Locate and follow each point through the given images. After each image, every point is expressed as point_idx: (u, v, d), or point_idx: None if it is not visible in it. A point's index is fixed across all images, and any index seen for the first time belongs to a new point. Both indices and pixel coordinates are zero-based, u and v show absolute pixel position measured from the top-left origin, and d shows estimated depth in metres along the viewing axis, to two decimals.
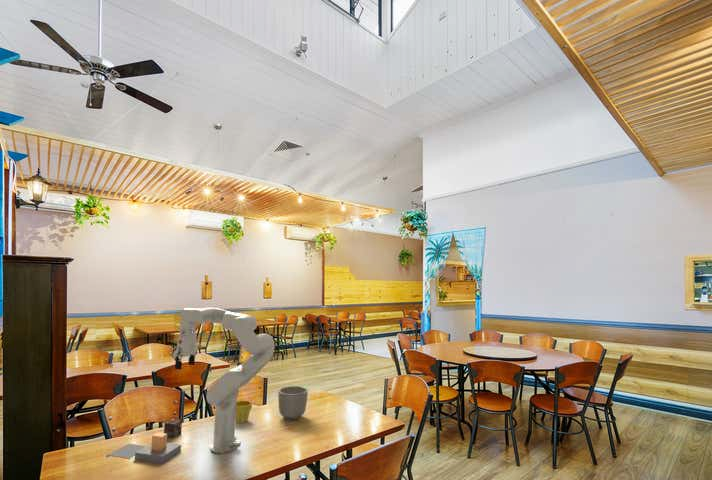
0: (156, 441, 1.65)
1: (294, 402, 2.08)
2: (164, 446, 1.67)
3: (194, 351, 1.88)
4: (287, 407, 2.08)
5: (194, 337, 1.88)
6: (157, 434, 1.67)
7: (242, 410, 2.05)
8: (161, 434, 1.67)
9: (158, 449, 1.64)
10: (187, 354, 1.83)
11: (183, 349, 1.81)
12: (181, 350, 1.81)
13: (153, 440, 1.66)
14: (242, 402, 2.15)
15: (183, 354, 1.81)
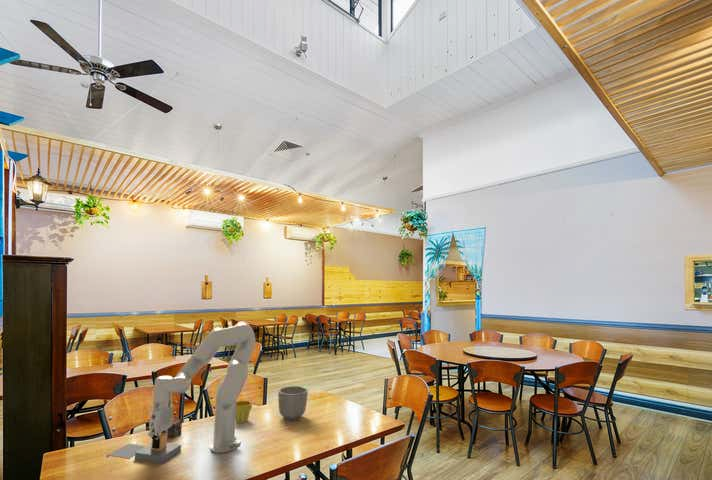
0: None
1: (294, 402, 2.08)
2: (164, 446, 1.67)
3: (170, 424, 1.70)
4: (287, 407, 2.08)
5: (170, 409, 1.70)
6: None
7: (242, 410, 2.05)
8: (162, 434, 1.67)
9: (158, 449, 1.65)
10: (161, 430, 1.65)
11: (157, 425, 1.63)
12: (154, 426, 1.63)
13: None
14: (242, 402, 2.15)
15: (157, 431, 1.62)
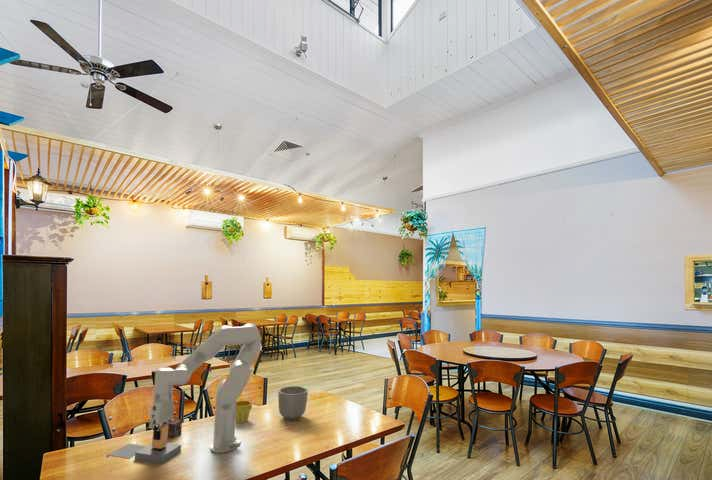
0: None
1: (294, 402, 2.08)
2: (165, 437, 1.67)
3: (171, 416, 1.70)
4: (287, 407, 2.08)
5: (170, 400, 1.70)
6: None
7: (242, 410, 2.05)
8: (163, 425, 1.68)
9: (159, 440, 1.65)
10: (162, 421, 1.65)
11: (158, 417, 1.63)
12: (155, 418, 1.63)
13: None
14: (242, 402, 2.15)
15: (158, 422, 1.63)
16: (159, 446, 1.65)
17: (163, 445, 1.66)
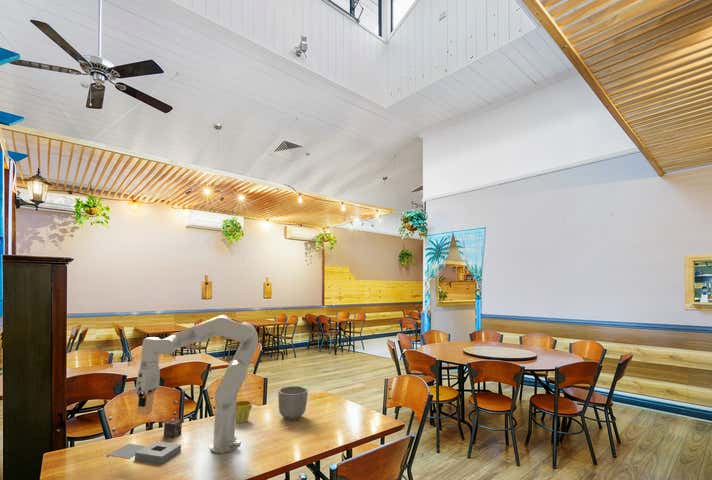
0: None
1: (294, 402, 2.08)
2: (150, 404, 1.70)
3: (156, 384, 1.73)
4: (287, 407, 2.08)
5: (157, 369, 1.74)
6: None
7: (242, 410, 2.05)
8: (148, 393, 1.71)
9: (144, 407, 1.68)
10: (148, 389, 1.68)
11: (143, 383, 1.66)
12: (141, 385, 1.66)
13: None
14: (242, 402, 2.15)
15: (143, 389, 1.66)
16: (144, 413, 1.68)
17: (148, 412, 1.69)
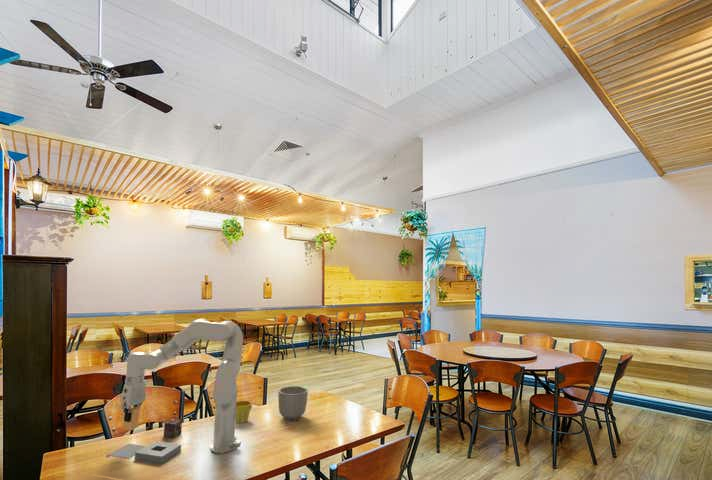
0: None
1: (294, 402, 2.08)
2: (136, 419, 1.71)
3: (142, 399, 1.74)
4: (287, 407, 2.08)
5: (142, 384, 1.74)
6: None
7: (242, 410, 2.05)
8: (134, 408, 1.72)
9: (130, 422, 1.69)
10: (133, 404, 1.69)
11: (128, 399, 1.67)
12: (126, 400, 1.67)
13: None
14: (242, 402, 2.15)
15: (128, 404, 1.67)
16: (129, 428, 1.69)
17: (133, 427, 1.70)
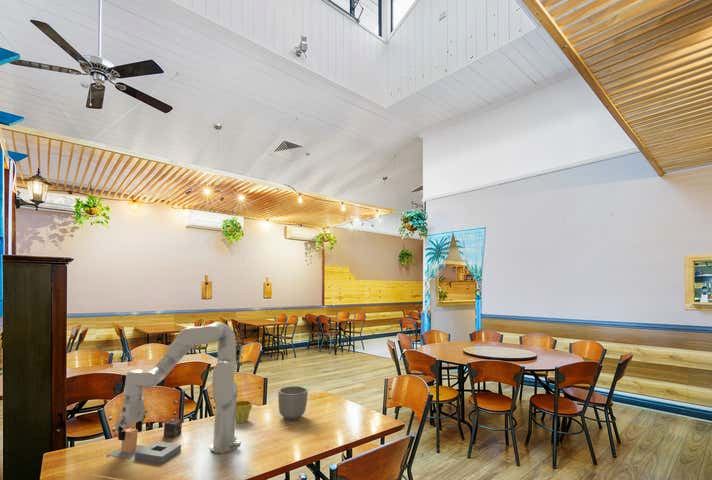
0: (126, 436, 1.69)
1: (294, 402, 2.08)
2: (134, 441, 1.70)
3: (141, 417, 1.73)
4: (287, 407, 2.08)
5: (141, 402, 1.74)
6: (128, 430, 1.71)
7: (242, 410, 2.05)
8: (132, 430, 1.71)
9: (128, 444, 1.68)
10: (132, 422, 1.68)
11: (127, 418, 1.66)
12: (125, 419, 1.66)
13: None
14: (242, 402, 2.15)
15: (127, 423, 1.66)
16: (128, 450, 1.68)
17: (132, 449, 1.69)
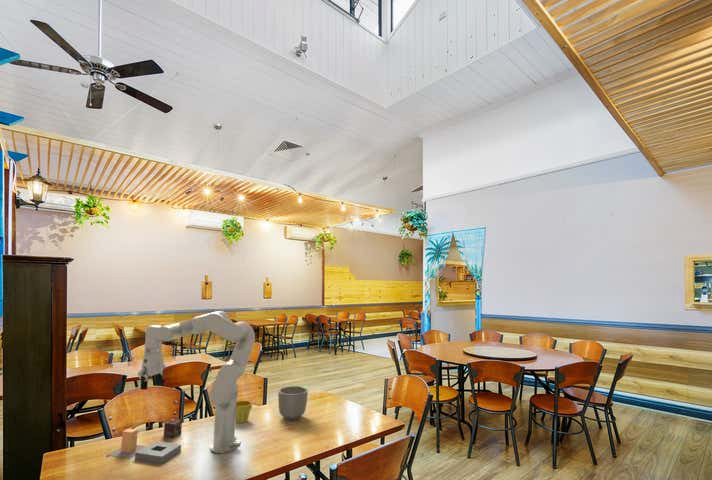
0: (126, 436, 1.69)
1: (294, 402, 2.08)
2: (134, 441, 1.70)
3: (161, 369, 1.83)
4: (287, 407, 2.08)
5: (160, 355, 1.83)
6: (128, 430, 1.71)
7: (242, 410, 2.05)
8: (132, 430, 1.71)
9: (128, 444, 1.68)
10: (153, 373, 1.78)
11: (149, 368, 1.76)
12: (146, 369, 1.76)
13: (123, 435, 1.69)
14: (242, 402, 2.15)
15: (149, 373, 1.75)
16: (128, 450, 1.68)
17: (132, 449, 1.69)
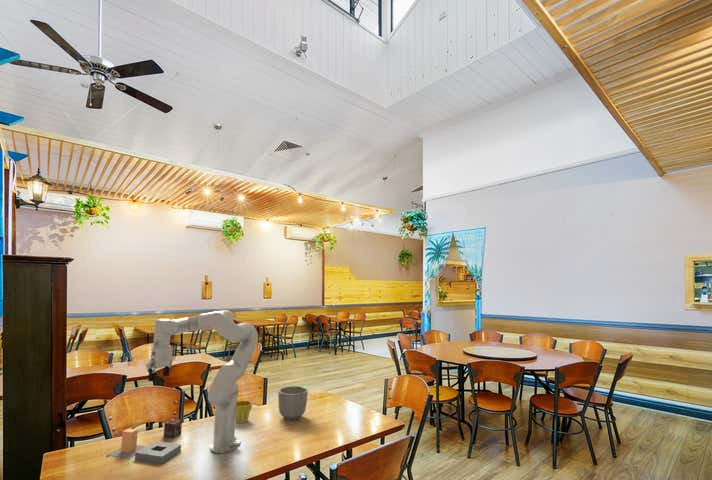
0: (126, 436, 1.69)
1: (294, 402, 2.08)
2: (134, 441, 1.70)
3: (168, 362, 1.87)
4: (287, 407, 2.08)
5: (168, 348, 1.87)
6: (128, 430, 1.71)
7: (242, 410, 2.05)
8: (132, 430, 1.71)
9: (128, 444, 1.68)
10: (161, 366, 1.82)
11: (156, 361, 1.80)
12: (154, 362, 1.80)
13: (123, 435, 1.69)
14: (242, 402, 2.15)
15: (156, 366, 1.80)
16: (128, 450, 1.68)
17: (132, 449, 1.69)
